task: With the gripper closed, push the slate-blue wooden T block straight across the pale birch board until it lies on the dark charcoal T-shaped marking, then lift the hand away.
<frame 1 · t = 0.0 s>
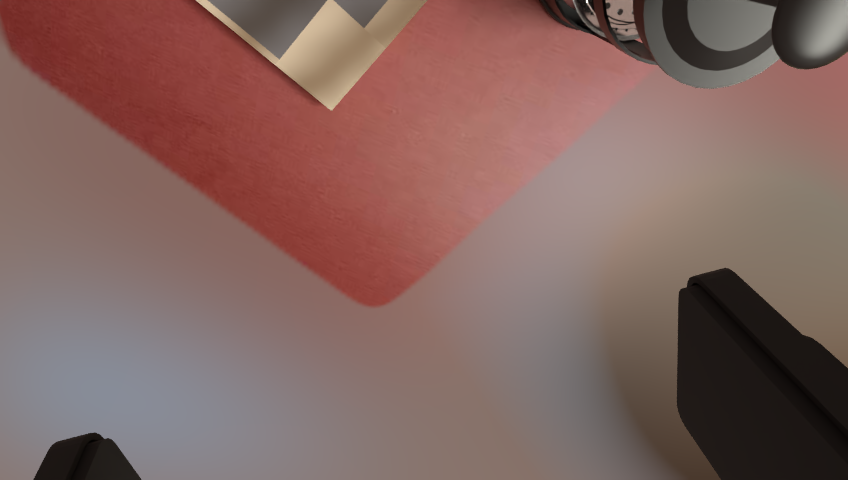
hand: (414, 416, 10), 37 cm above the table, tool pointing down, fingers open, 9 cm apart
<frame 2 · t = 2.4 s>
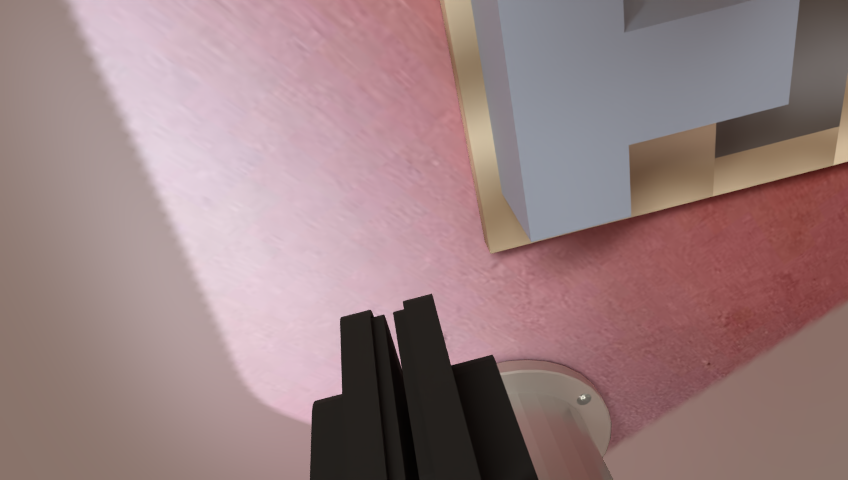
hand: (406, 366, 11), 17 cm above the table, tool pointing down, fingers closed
board: (715, 18, 25), on the table
t block: (532, 73, 24), point 1 cm above the table, touching board
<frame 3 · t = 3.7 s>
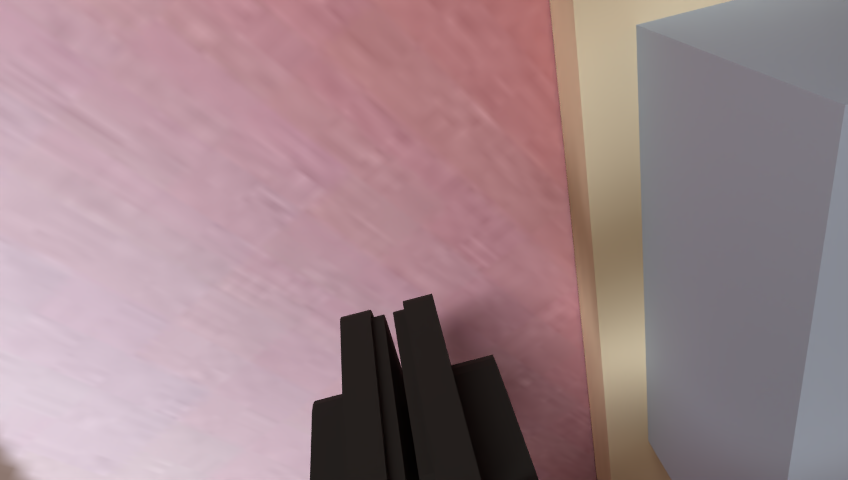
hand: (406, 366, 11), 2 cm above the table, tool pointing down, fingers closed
t block: (738, 251, 12), point 1 cm above the table, touching board
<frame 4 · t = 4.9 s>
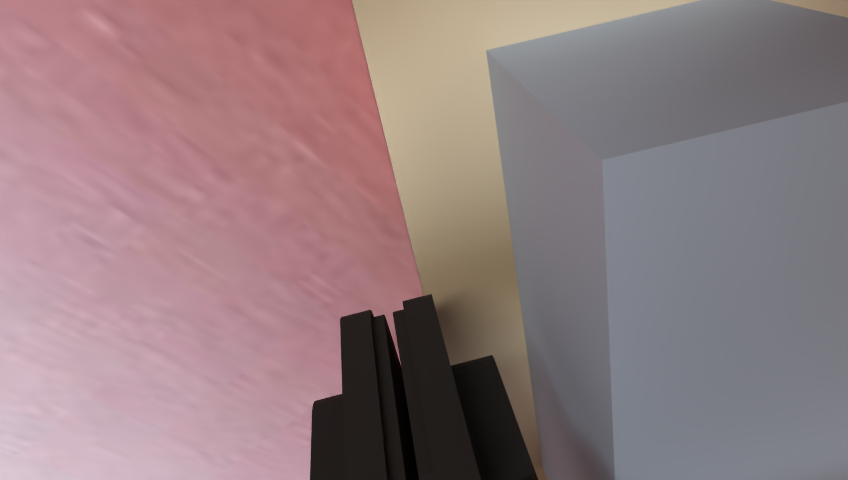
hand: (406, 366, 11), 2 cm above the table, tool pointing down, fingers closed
t block: (618, 280, 12), point 1 cm above the table, touching gripper
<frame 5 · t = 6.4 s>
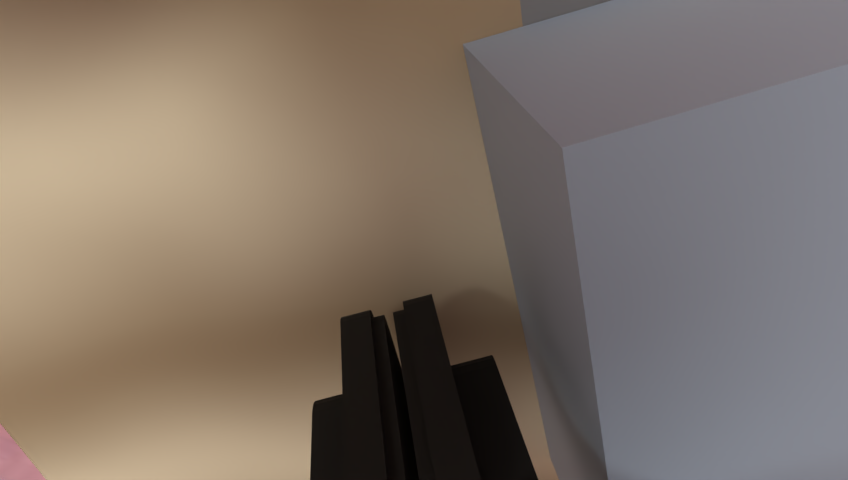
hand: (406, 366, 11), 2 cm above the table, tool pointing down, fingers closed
board: (556, 265, 13), on the table
t block: (613, 267, 12), point 1 cm above the table, touching gripper
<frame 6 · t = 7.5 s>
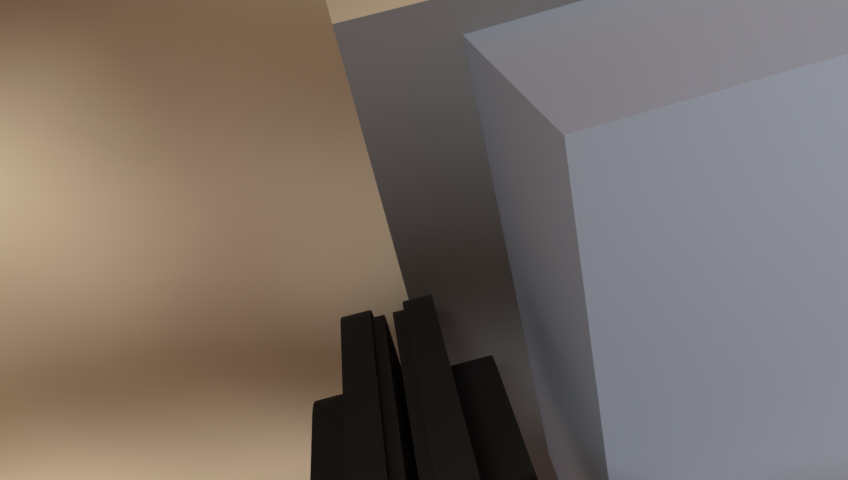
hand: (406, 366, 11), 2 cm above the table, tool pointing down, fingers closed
board: (433, 293, 13), on the table
t block: (614, 263, 12), point 1 cm above the table, touching board, gripper
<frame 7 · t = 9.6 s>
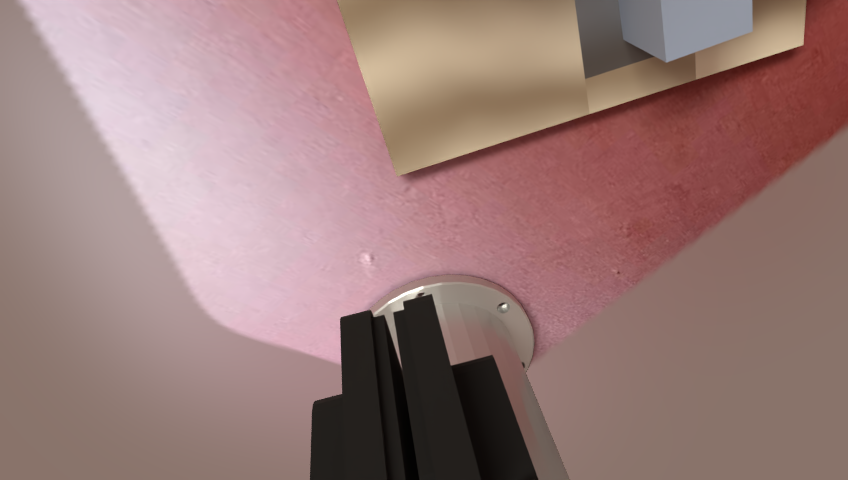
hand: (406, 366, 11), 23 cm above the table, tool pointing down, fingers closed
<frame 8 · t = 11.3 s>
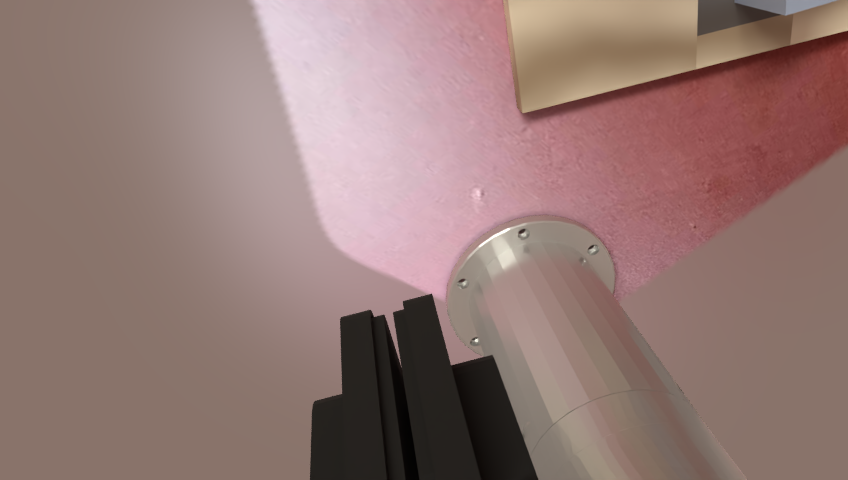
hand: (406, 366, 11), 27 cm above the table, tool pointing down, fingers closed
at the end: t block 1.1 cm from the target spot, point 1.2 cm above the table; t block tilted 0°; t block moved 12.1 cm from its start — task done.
